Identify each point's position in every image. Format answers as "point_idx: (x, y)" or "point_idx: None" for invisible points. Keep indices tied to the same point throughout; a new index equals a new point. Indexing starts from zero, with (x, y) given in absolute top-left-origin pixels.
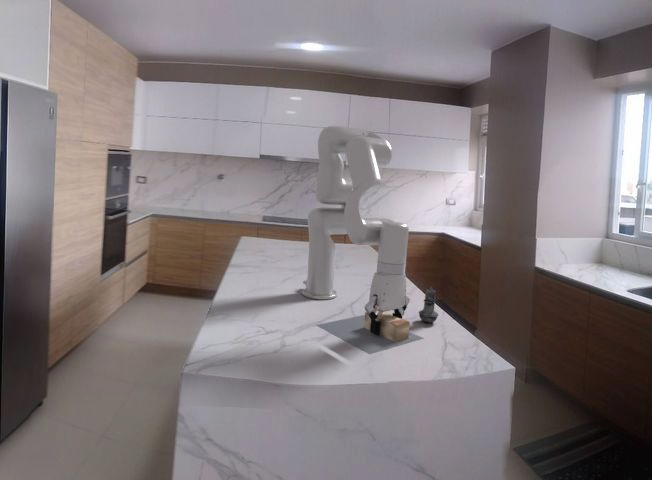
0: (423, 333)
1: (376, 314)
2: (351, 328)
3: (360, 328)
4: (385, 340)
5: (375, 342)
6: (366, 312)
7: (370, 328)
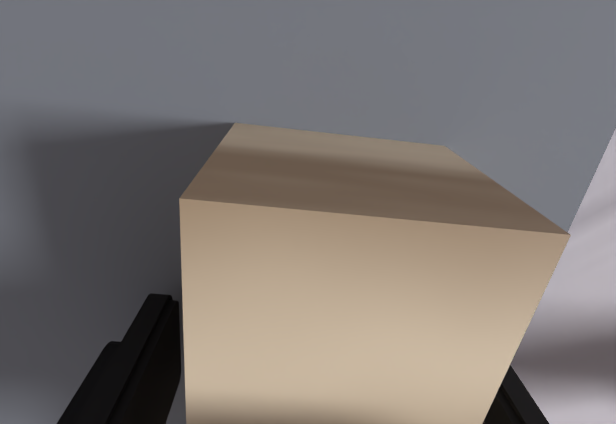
0: (577, 416)
1: (278, 385)
2: (55, 52)
3: (167, 123)
4: (179, 412)
5: None
6: (186, 232)
7: (139, 314)
